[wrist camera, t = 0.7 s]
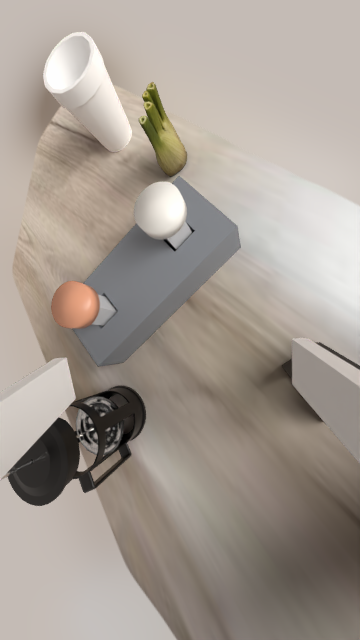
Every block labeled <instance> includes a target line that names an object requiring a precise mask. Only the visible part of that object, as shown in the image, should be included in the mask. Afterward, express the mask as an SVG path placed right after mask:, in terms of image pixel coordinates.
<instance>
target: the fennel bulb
mask: <svg viewBox="0 0 360 640" xmlns="http://www.w3.org/2000/svg"><path fill="white" fill-rule="evenodd" d="M142 98H143V100H144V108H145V111H146V113H147V116H148V117H147V116H141V117H140V118H139V122H140V125H141V126H142V128H143V129H144V131H145V133H146V135H147V136H148V138H149V140H150V142H151V144H152V146H153V148H154V150H155V152H156V158H157V161H158V164H159V166H160V167H161V169H162V170H163V171H164V172H165V173H166V174H167V175H169V176H173V175H175V174H176V173H177V172H179V171H180V170H181V169H183V167H184V166H185V164H186V161H187V152H186V151H185V148H184V146H183V144H182V143H181V141H180V139H179V137H178V135H177V133H176V131H175V129H174V127H173V125H172V124H171V122H170V121H169V119H168V117H167V115H166V113H165V111H164V108H163V106H162V103H161V100H160V98H159V95H158V91H157V88H156V85H155V84H154V83H153V82H152V83H150V84H148V86H147V91H145V92H144V94H143V95H142Z"/></svg>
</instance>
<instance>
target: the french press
mask: <svg viewBox="0 0 360 640" xmlns="http://www.w3.org/2000/svg"><path fill="white" fill-rule="evenodd" d="M115 394H120V395H122V396H123V397H124V398H125V399H126V400H127V401H128V402H129V403H128V404H126V405H124V406H122V407H120V408H118V406H117V405H116V404H115V403H114V402H112V401H111V400H109V399H110V397H112V396H113V395H115ZM84 401H85V402H84ZM81 402H84V403H81ZM70 406H74V407H77V408H79V411H78V414H77V418H76V430H77V431H75V432H74V430H73V429H72V427H71V426H70V425H69V423H68V422H67V421H66V420H63V419H61V418H57V419H56V420H55V422H54V423H53V424H52V425H51V426H50V427H49V428H48V429H47V430H46V431H45V432H44V433H43V434H42V436H41V437H40V438H39V439H38V440H37V441H36V442H35V443H34V444H33V445H32V446H31V447H30V448H29V450H28V451H27V452H26V453H25V454H24V455H23V456H22V457H21V458H20V459H19V460H18V461H17V462H16V464H15V465H14V466H13V467H12V468H11V469H10V470H9V471H8V472H7V473H6V474H5V475H4V476H3V478H2V479H4V478H6V477H8V479H9V482H10V484H11V486H12V488H13V489H14V491H15V492H16V493H17V495H18V496H19V497H20V498H21V499H22V500H24V501H25V502H27V503H29V504H32V505H35V506H42V505H45V504H49V503H50V502H52V501H53V500H55V499H56V498H57V497H58V496H59V495H60V494H61V492H62V491H63V489H64V488H65V486H66V485H67V484H68V483H69V482H70V481H71V480H72V479H77V478H79V481H80V484H81V487H82V489H83V492H84V493H86V492H88V491H91V490H93V489H95V488H96V487H98V486H99V485H100V484H101V483H102V482H103V481H104V480H105V479H106V478H107V477H108V476H110V475H111V474H112V473H113V472H114V471H115V470H116V469H117V468H118V467H119V466H120V465H122V464H123V463H124V462H125V461H126V460H127V459H128V458H129V457H130V456H131V451H130V449H129V446H128V444H127V442H128V441H130V440H133V439H134V438H136V437H137V436H138V435H139V434H140V433H141V431H142V429H143V427H144V425H145V420H146V410H145V406H144V403H143V401H142V399H141V397H140V396H139V394H138V393H137V392H136V391H134V390H133V389H131V388H129V387H126V386H116V387H113V388H111V389H109V390H108V391H105V392H102V393H99V394H96V395H93V396H90V397H87V398H84V399H81V400H78V401H75V402H72V403H71V404H70V405H69V406H68V407H70ZM132 414H134V428H133V430H132V431H131V432H129V433H126V434H123V432H124V419H125V418H127V417H129V416H130V415H132ZM79 442H81V443H82V445H83V446H84V447H85V448H86V449H87V450H88V451H89V452H91V453H93V454H95V455H97V457H96V459H95V462H94V464H93V465H92V466H91V467H89V468H88V469H87V470H85V471H84V472H78V471H77V468H78V465H79V459H80V458H79V457H80V450H79V444H78V443H79ZM117 450H119V452H120V455H121V459H120V460H119V461H118V462H117V463H115V464H114V465H113V466H112V467H111V468H110V469H109V470H107V471H106V472H105V473H104V474H103V475H102V476H100V477H99V478H98V479H97V480H96V481H95V482H94V481H93V478H92V475H91V472H90V471H92V470H93V469H94V468H95V467H97V466H98V465H99V464H101V463H102V462H103V461H104V460H106V459H107V458H108V457H109V456H111V455H112V454H113V453H114V452H116V451H117ZM103 455H105V456H104V457H103ZM2 479H1V480H2Z"/></svg>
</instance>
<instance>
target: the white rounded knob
mask: <svg viewBox="0 0 360 640" xmlns="http://www.w3.org/2000/svg"><path fill="white" fill-rule="evenodd" d="M186 217H187V207H186V203H185V201H184V199H183V197H182V195H181V193H180V192H179V190H178V188H177V187H176V186H175V185H173V184H171V183H169V182H156V183H153V184H151V185H149V186H148V187H146V188H145V189H144V190H143V191H142V192H141V193H140V195H139V196H138V198H137V200H136V202H135V206H134V218H135V221H136V223H137V224H138V226H139V227H140V228H141V229H142V230H143V231H144V232H145V233H146V234H147V235H148V236H150V237H151V238H154V239H158V240H162V239H166V240H167V241H168V242H169V243H170V244H171V245H172V246H173V247H174V248H175V249H176V250H177V249H178V248H179V247H180V246H181V245H182V244H183V243H184V242H185V241H186V240H187V238H188V237H189V236H190V235H191V234H192V231H191V230H190V228H189V226H188V225H187V223H186V221H185V220H186Z"/></svg>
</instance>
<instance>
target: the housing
mask: <svg viewBox="0 0 360 640" xmlns="http://www.w3.org/2000/svg"><path fill="white" fill-rule="evenodd" d="M172 184H173V185H175V186H176V187H177V188H178V190H179V192H180V193H181V195H182V197H183V199H184V201H185V203H186V207H187V217H186V220H185V221H186V223H187V225H188V226H189V228H190V230H191V231H192V234H191V235H190V236H189V237H188V238H187V240H186V241H185V242H184V243H183V244H182V245H181V246H180V247H179V248H178V249H177V250H176V249H175V248H174V247H173V246H172V245H171V244H170V243H169V242H168V241H167V240H166V239H162V240H158V239H154V238H151V237H150V236H148V235H147V234H146V233H145V232H144V231H143V230H142V229H141V228H140V227H139V226H138V224H137V223H136V225H135V226H134V227H133V228H132V229H131V230H130V231H129V232H128V234H127V235H126V236H125V237H124V238H123V239H122V240H121V241H120V243H119V244H118V245H117V246H116V247H115V248H114V249H113V250H112V252H111V253H110V254H109V255H108V256H107V257H106V258H105V259H104V261H103V262H102V263H101V264H100V265H99V266H98V267H97V268H96V269H95V271H94V272H93V273H92V274H91V275H90V276H89V277H88V278H87V280H86V281H85V282H84V283H83V284H85V285H88V286H91V287H92V288H93V289H94V290H95V291H96V292H97V294H98V295H101V296H105V297H108V298H109V300H110V301H111V302H112V304H113V305H114V306H115V307H116V309H117V310H118V312H117V313H116V314H115V315H114V316H113V317H112V318H111V319H110V320H109V321H108V322H107V323H106V324H105V325H104V326H102V325H92V324H91V325H90V326H88V327H86V328H82V329H76V328H72V329H73V331H74V332H75V334H76V335H77V337H78V338H79V339H80V341H81V342H82V344H83V345H84V347H85V348H86V350H87V351H88V353H89V354H90V356H91V357H92V359H93V360H94V361H95V363H96V364H97V366H98V367H99V366H105V365H111V364H117V363H124V362H125V361H126V360H127V359H128V358H129V357H130V356H131V355H132V354H133V353H134V352H135V351H136V350H137V349H138V348H139V347H140V346H141V345H142V344H143V343H144V342H145V341H146V340H147V339H148V338H149V337H150V336H151V335H152V334H153V333H154V332H155V331H156V330H157V329H158V328H159V327H160V326H161V325H162V324H163V323H164V322H165V321H166V320H167V319H168V318H169V317H170V316H171V315H172V314H173V313H174V312H175V311H176V310H177V309H178V308H179V307H181V306H182V305H183V304H184V303H185V302H186V301H187V300H188V299H189V298H190V297H191V296H192V295H193V294H194V293H195V292H196V291H197V290H198V289H199V288H200V287H201V286H202V285H203V284H204V283H205V282H206V281H207V280H208V279H209V278H210V277H211V276H212V275H213V274H214V273H215V272H216V271H217V270H218V269H219V268H220V267H221V266H222V265H223V264H224V263H225V262H226V261H227V260H228V259H229V258H230V257H231V256H232V255H233V254H234V253H235V252H236V251H237V250H238V249H239V248H240V247H241V245H240V239H239V233H238V227H237V225H236V224H234V223H233V222H232V221H231V220H230V219H229V218H227V217H226V216H225V215H224V214H223V213H222V212H221V211H219V210H218V209H217V208H216V207H215V206H214V205H212V204H211V203H210V202H209V201H208V200H207V199H205V198H204V197H203V196H202V195H201V194H200V193H199V192H197V191H196V190H195V189H194V188H193V187H192V186H190V185H189V184H188V183H187V182H186V181H185V180H183V179H182V178H181V177H180V176H178V177H177V178H176V180H175V181H174V182H173V183H172ZM175 250H176V251H175ZM174 251H175V252H174Z"/></svg>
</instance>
